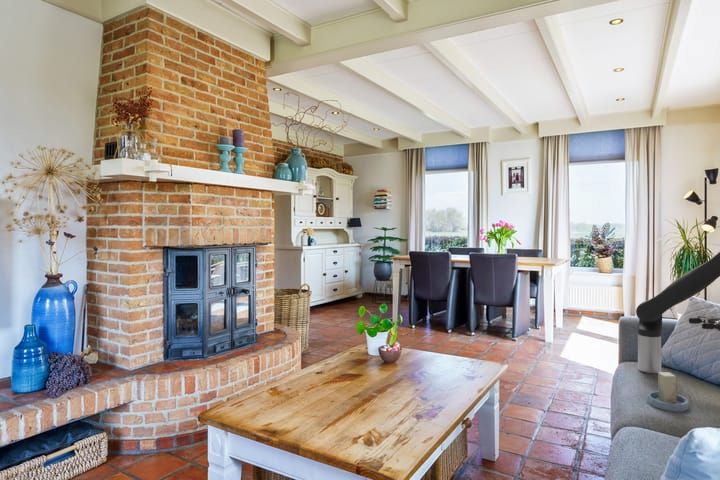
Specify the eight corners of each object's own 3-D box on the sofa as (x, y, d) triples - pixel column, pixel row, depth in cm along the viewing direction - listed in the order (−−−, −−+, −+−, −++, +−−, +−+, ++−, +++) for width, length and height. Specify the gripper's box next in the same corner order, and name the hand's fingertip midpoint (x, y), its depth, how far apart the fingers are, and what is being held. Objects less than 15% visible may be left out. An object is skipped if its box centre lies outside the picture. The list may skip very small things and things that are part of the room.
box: (677, 404, 167) (676, 376, 167) (664, 404, 168) (664, 376, 167) (669, 399, 173) (669, 371, 172) (657, 398, 173) (657, 371, 173)
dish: (641, 396, 177) (641, 390, 177) (675, 397, 176) (675, 391, 176) (658, 410, 165) (658, 404, 164) (695, 411, 163) (695, 405, 163)
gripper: (727, 310, 181) (685, 310, 183) (753, 318, 167) (707, 318, 169) (727, 328, 181) (685, 327, 184) (753, 337, 167) (706, 337, 169)
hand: (695, 323), depth 176 cm, fingers open, 8 cm apart
